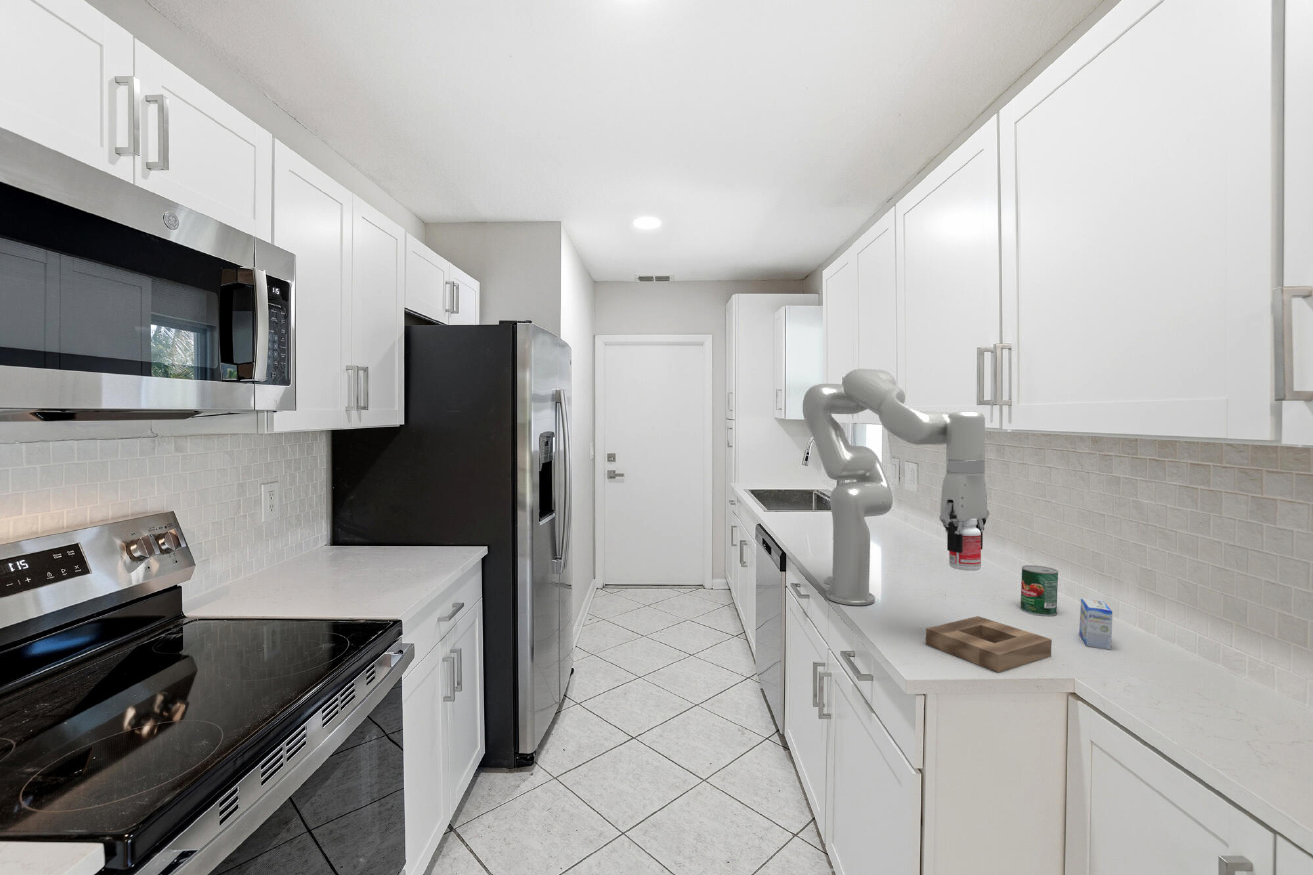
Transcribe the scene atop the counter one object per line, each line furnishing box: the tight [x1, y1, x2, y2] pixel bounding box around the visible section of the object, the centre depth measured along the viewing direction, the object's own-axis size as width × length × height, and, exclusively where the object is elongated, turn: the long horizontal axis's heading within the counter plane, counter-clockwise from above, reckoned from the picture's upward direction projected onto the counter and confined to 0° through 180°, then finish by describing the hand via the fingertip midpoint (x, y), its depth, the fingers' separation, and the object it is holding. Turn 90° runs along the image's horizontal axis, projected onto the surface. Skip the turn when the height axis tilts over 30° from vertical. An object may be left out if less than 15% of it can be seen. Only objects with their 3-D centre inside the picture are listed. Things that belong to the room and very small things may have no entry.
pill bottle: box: [948, 517, 982, 572], centre depth 129 cm, size 6×6×11 cm
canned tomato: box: [1019, 564, 1059, 617], centre depth 151 cm, size 8×8×11 cm
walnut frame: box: [925, 615, 1053, 674], centre depth 125 cm, size 16×18×4 cm
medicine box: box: [1078, 597, 1113, 650], centre depth 130 cm, size 8×4×9 cm, turn 154°
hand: (964, 549), depth 129 cm, fingers closed on pill bottle, 6 cm apart
